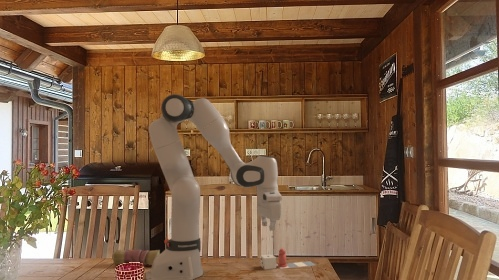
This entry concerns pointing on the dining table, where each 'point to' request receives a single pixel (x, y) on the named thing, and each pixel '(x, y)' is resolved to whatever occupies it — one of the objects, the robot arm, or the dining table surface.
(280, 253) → the pawn
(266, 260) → the die
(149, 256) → the rolled towel
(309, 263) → the board
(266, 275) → the dining table surface
